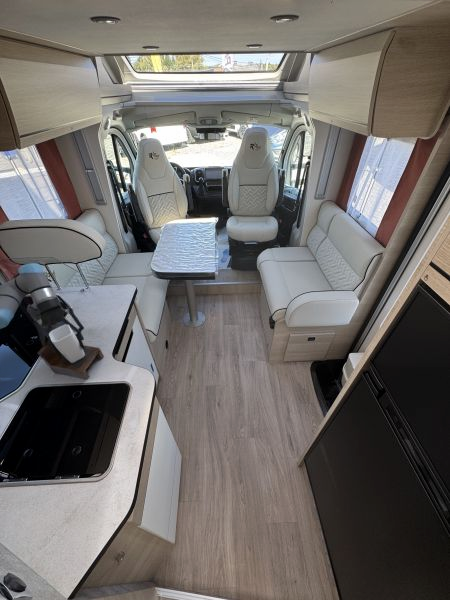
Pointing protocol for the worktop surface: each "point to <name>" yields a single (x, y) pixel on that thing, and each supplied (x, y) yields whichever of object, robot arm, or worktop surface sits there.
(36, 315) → the beverage bottle
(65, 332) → the cup
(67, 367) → the shelf
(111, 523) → the worktop surface
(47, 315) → the robot arm
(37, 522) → the worktop surface
